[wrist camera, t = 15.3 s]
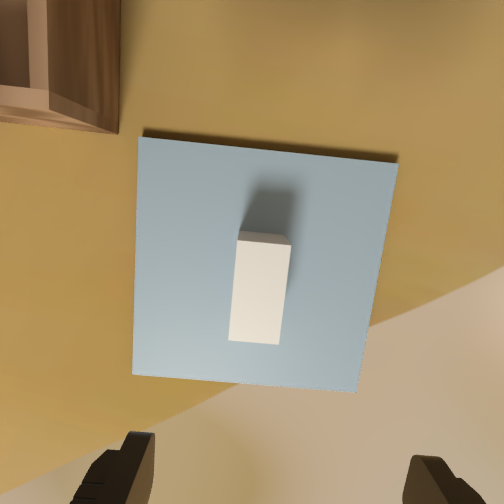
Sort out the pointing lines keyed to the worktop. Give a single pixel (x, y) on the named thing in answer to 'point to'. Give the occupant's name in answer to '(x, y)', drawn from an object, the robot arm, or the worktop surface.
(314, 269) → the lid
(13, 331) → the worktop surface
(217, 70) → the worktop surface
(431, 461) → the robot arm
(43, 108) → the box
